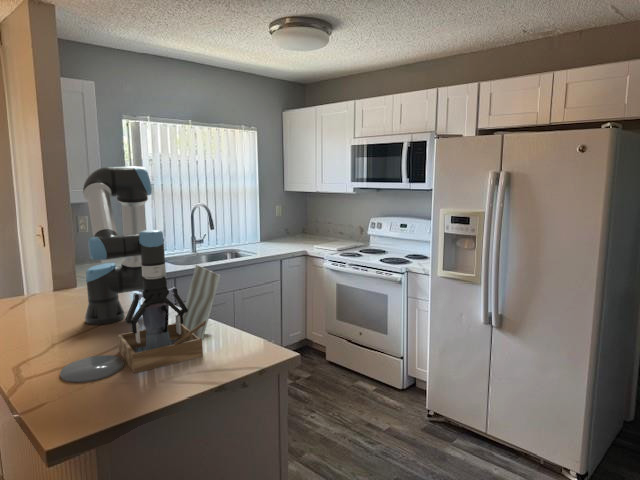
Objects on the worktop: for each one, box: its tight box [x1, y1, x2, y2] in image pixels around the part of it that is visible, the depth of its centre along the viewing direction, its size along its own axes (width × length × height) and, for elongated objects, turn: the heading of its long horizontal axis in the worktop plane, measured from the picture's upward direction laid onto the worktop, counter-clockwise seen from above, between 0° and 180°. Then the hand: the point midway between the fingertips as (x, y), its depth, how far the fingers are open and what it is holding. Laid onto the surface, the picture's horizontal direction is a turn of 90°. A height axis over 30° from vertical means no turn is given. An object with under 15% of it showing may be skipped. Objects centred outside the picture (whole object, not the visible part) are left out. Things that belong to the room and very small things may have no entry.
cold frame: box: [117, 264, 222, 374], centre depth 158 cm, size 22×30×27 cm
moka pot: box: [139, 302, 172, 351], centre depth 157 cm, size 10×15×20 cm, turn 51°
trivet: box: [59, 354, 125, 383], centre depth 146 cm, size 18×18×1 cm
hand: (159, 337), depth 157 cm, fingers open, 13 cm apart
